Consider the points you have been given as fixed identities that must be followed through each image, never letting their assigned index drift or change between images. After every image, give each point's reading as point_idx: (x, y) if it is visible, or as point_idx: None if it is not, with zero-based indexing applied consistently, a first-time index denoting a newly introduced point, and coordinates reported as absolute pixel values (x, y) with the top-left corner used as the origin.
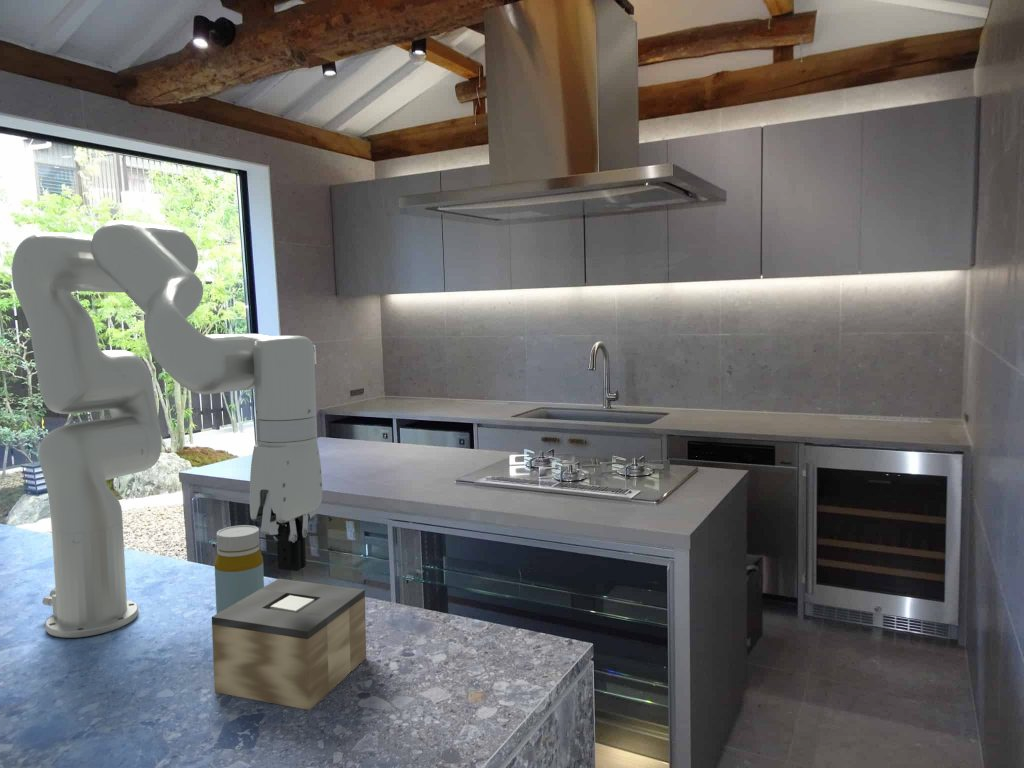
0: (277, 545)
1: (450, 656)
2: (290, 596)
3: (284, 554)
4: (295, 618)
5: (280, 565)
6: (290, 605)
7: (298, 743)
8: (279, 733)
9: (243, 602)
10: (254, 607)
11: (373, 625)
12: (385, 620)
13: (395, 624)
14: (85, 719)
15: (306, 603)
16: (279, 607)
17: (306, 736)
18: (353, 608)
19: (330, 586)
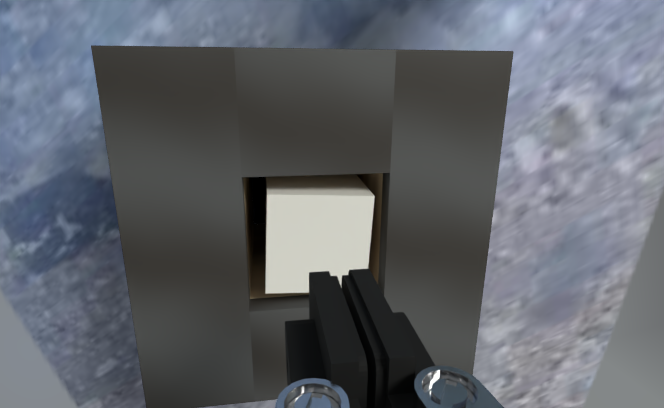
0: (326, 337)
1: None
2: (364, 206)
3: (288, 379)
4: (209, 331)
5: (310, 289)
6: (296, 253)
7: (87, 335)
8: (96, 288)
9: (259, 74)
10: (235, 148)
11: (550, 210)
12: (578, 221)
13: (561, 251)
14: None
15: None
16: (268, 231)
17: (112, 334)
18: None
19: (474, 277)
